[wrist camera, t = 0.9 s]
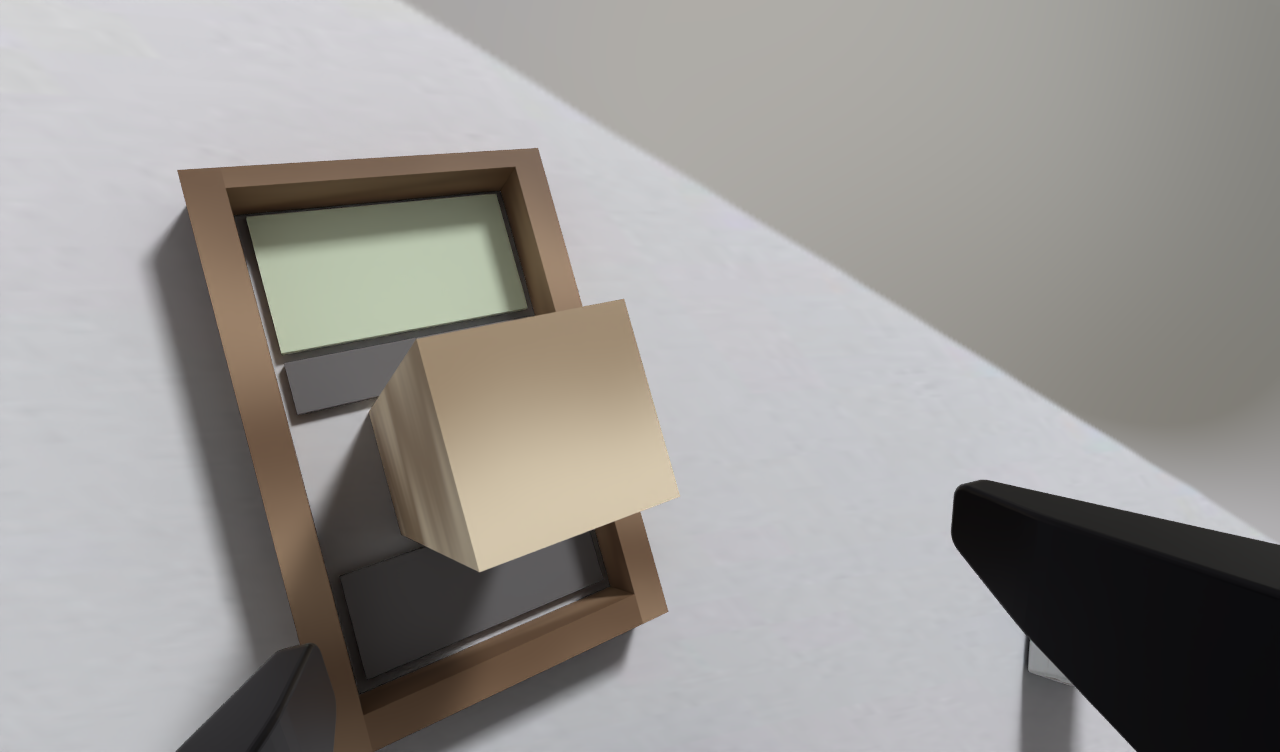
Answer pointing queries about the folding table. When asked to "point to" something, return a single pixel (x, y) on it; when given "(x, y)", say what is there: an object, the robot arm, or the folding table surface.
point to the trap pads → (424, 579)
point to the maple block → (521, 434)
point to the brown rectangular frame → (275, 462)
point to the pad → (384, 269)
